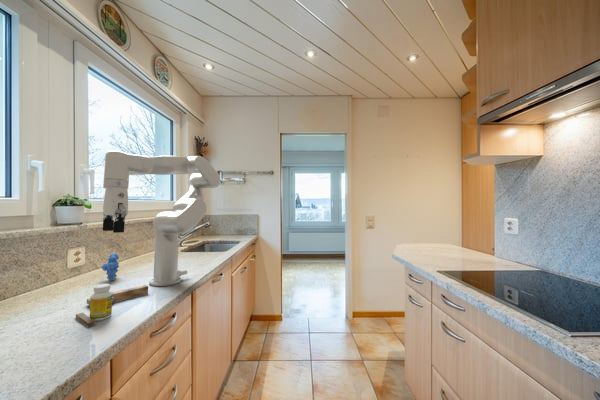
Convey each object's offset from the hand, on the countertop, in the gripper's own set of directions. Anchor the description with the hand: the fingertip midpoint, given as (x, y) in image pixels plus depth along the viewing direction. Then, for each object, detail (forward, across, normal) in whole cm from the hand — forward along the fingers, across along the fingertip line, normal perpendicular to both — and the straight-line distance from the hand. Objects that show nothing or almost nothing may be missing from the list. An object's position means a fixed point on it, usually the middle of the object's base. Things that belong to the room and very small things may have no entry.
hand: (113, 231), depth 94 cm
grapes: (+24, +28, -10) cm, 39 cm away
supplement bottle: (+25, -15, +7) cm, 30 cm away
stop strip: (+25, -15, +11) cm, 31 cm away
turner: (+25, -3, -3) cm, 25 cm away
